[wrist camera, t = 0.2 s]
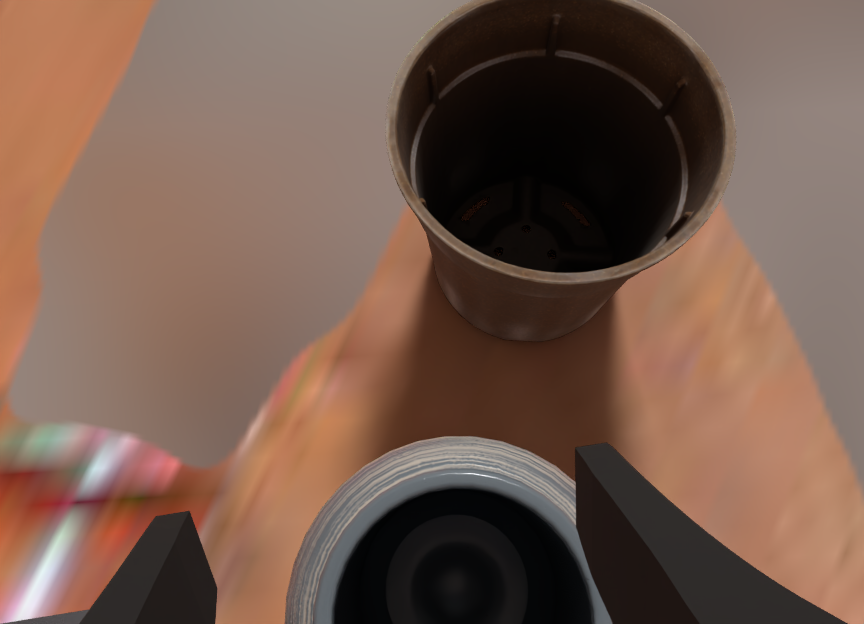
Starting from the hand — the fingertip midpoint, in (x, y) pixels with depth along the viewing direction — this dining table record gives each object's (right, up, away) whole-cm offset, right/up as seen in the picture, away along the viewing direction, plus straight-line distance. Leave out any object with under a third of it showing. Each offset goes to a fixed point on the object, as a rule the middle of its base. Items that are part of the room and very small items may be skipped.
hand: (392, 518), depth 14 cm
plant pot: (+7, +8, +36) cm, 37 cm away
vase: (+2, -12, +29) cm, 32 cm away
